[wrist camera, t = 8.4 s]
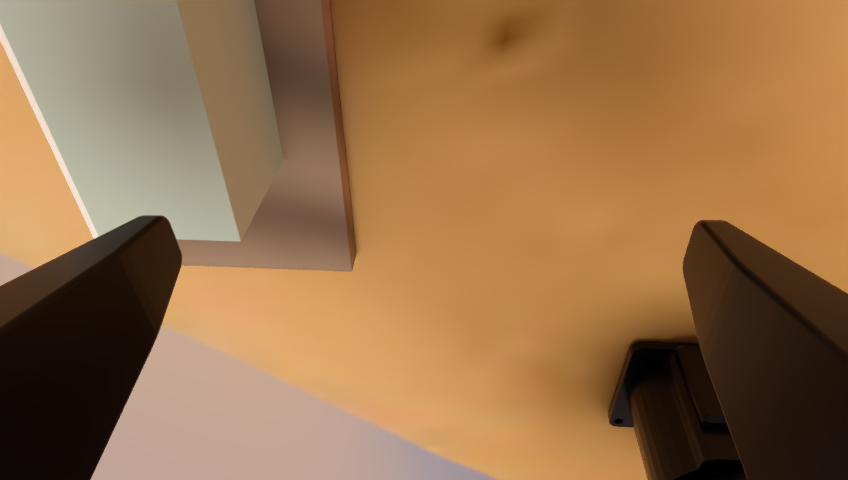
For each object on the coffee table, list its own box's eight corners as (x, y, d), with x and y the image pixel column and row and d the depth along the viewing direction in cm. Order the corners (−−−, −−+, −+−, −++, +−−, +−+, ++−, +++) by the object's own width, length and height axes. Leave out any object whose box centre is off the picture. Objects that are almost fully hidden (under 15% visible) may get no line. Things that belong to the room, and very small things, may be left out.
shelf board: (356, 253, 25) (351, 271, 24) (141, 246, 26) (129, 263, 25) (298, -295, 14) (285, -303, 13) (-77, -288, 15) (-115, -295, 14)
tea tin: (245, -46, 17) (176, 0, 13) (283, 159, 21) (240, 241, 17) (95, -47, 17) (-18, -2, 13) (163, 156, 21) (94, 236, 17)
